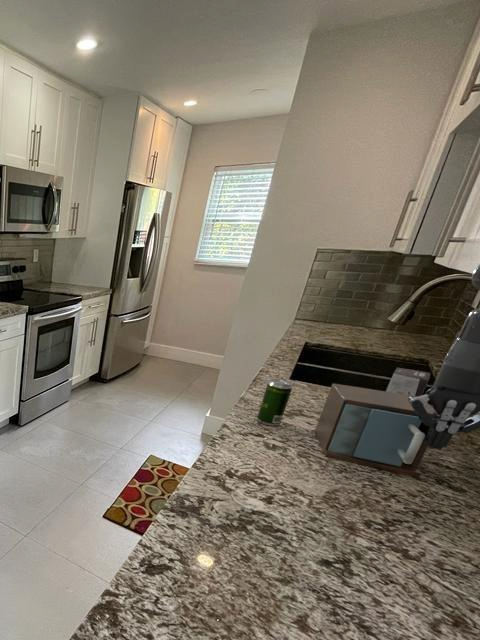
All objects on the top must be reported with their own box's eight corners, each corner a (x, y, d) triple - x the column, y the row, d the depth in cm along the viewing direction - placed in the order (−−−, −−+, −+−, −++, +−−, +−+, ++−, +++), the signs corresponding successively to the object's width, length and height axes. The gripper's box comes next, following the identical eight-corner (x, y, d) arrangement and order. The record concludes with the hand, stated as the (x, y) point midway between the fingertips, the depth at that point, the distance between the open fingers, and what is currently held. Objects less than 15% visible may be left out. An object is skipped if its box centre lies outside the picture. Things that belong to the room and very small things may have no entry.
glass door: (399, 465, 90) (422, 417, 86) (410, 478, 85) (434, 428, 81) (352, 455, 94) (372, 408, 90) (360, 467, 89) (381, 419, 85)
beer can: (284, 425, 111) (298, 384, 107) (269, 427, 110) (282, 386, 105) (266, 417, 116) (279, 377, 111) (251, 418, 114) (263, 378, 110)
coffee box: (402, 438, 105) (429, 380, 100) (368, 429, 110) (392, 372, 104) (406, 428, 111) (432, 372, 105) (374, 420, 115) (397, 366, 110)
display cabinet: (396, 449, 100) (420, 396, 95) (418, 477, 89) (447, 419, 84) (314, 432, 107) (332, 383, 102) (325, 456, 96) (346, 402, 91)
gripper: (433, 364, 76) (396, 446, 82) (540, 377, 70) (491, 464, 76) (417, 354, 82) (383, 431, 88) (514, 366, 76) (471, 447, 82)
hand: (433, 446), depth 82 cm, fingers closed
